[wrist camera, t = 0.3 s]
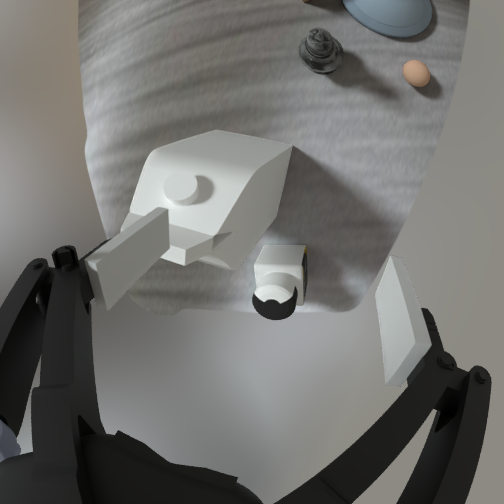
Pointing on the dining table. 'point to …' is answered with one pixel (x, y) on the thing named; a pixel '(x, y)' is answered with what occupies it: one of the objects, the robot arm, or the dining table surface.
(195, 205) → the milk
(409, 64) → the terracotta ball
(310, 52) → the stone chess piece
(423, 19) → the plate
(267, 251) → the medicine bottle
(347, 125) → the dining table surface
